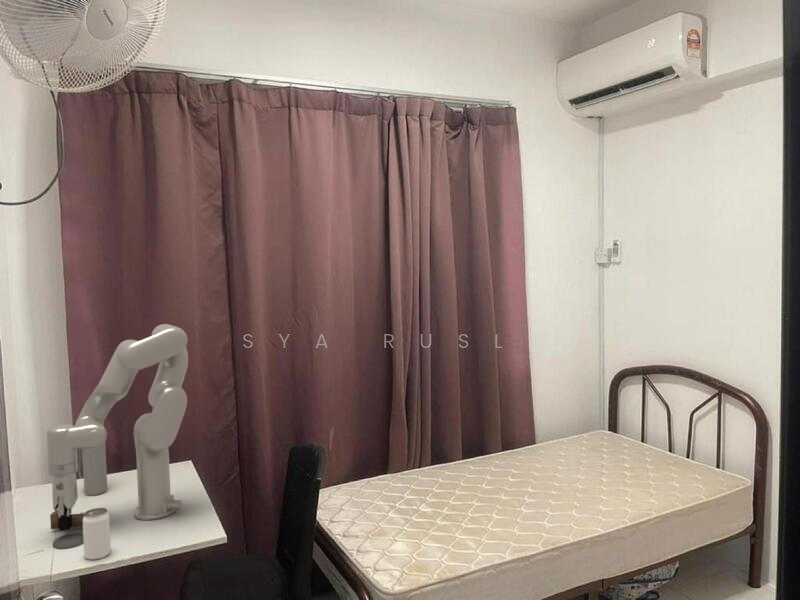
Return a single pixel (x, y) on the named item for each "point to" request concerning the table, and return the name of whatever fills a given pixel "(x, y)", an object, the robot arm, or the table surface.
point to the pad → (68, 541)
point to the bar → (76, 520)
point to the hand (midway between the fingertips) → (65, 528)
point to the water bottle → (94, 470)
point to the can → (96, 534)
